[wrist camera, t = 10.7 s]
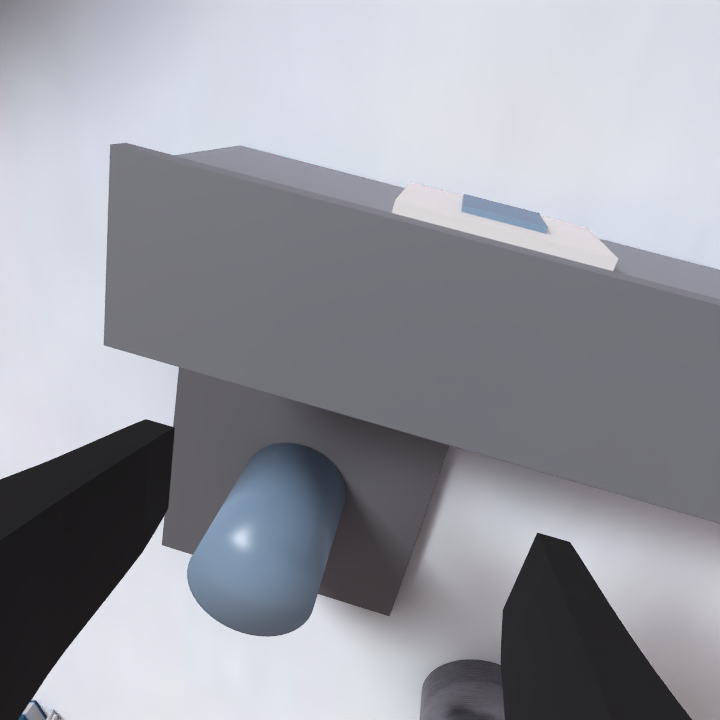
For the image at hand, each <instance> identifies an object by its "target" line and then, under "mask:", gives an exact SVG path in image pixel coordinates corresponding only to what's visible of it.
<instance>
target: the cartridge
mask: <svg viewBox="0 0 720 720" xmlns="http://www.w3.org/2000/svg"><path fill="white" fill-rule="evenodd" d="M345 499H346V488H345V483H344V480H343V477H342V475H341V473H340V472H339V470H338V469H337V467H336V466H335V465H334V464H333V463H332V462H331V461H330V460H329V459H328V458H327V457H326V456H324V455H323V454H322V453H320V452H318V451H317V450H315V449H312V448H310V447H307V446H304V445H301V444H296V443H277V444H273V445H269V446H267V447H264V448H262V449H261V450H259V451H258V452H256V453H255V454H254V455H253V456H252V457H251V459H250V460H249V462H248V463H247V465H246V467H245V468H244V470H243V472H242V473H241V475H240V477H239V478H238V480H237V482H236V484H235V485H234V487H233V489H232V490H231V492H230V494H229V495H228V497H227V499H226V500H225V502H224V504H223V505H222V507H221V509H220V510H219V512H218V514H217V515H216V517H215V519H214V520H213V522H212V524H211V525H210V527H209V529H208V530H207V532H206V534H205V535H204V537H203V539H202V541H201V542H200V544H199V546H198V547H197V549H196V551H195V552H194V554H193V556H192V557H191V559H190V562H189V564H188V570H187V578H188V584H189V587H190V590H191V592H192V594H193V596H194V598H195V599H196V601H197V602H198V603H199V605H200V606H201V607H202V608H203V609H204V610H205V611H206V612H207V613H208V614H209V615H210V616H211V617H213V618H214V619H215V620H217V621H218V622H220V623H222V624H223V625H225V626H227V627H229V628H231V629H234V630H236V631H239V632H242V633H246V634H250V635H255V636H278V635H283V634H286V633H289V632H292V631H294V630H296V629H297V628H299V627H300V626H302V625H303V624H304V623H305V622H306V621H307V620H308V618H309V617H310V615H311V613H312V610H313V607H314V604H315V601H316V597H317V594H318V591H319V587H320V584H321V581H322V577H323V574H324V571H325V567H326V564H327V561H328V557H329V554H330V551H331V547H332V544H333V541H334V537H335V534H336V531H337V527H338V524H339V520H340V517H341V514H342V510H343V507H344V504H345Z"/></svg>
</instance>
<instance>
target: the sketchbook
mask: <svg viewBox="0 0 720 720" xmlns="http://www.w3.org/2000/svg"><path fill="white" fill-rule="evenodd" d="M54 713H55V711H54V710H53V709H51V710H50V714H49V716H48V717H46V715H45V714H44V712H43V711H42V709H41V707H40V706H39V704H38V703H37V701H36V700H35V701H30V703H29V704H28V706H27V707H26V709H25V710H24V712H23V713H22V715H21V717H20V718H19V720H51V719H52V717H53V715H54ZM54 720H59V717H58V716H55V718H54Z"/></svg>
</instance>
